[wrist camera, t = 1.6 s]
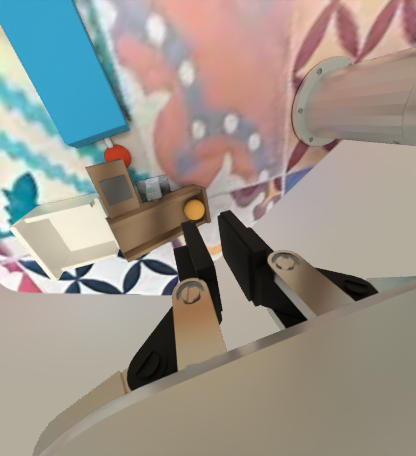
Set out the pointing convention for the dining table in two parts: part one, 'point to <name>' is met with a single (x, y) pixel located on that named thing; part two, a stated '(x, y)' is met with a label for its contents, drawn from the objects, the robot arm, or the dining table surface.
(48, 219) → the box
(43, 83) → the lever
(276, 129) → the dining table surface
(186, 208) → the ball
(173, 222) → the brown shallow tray
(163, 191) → the stand
